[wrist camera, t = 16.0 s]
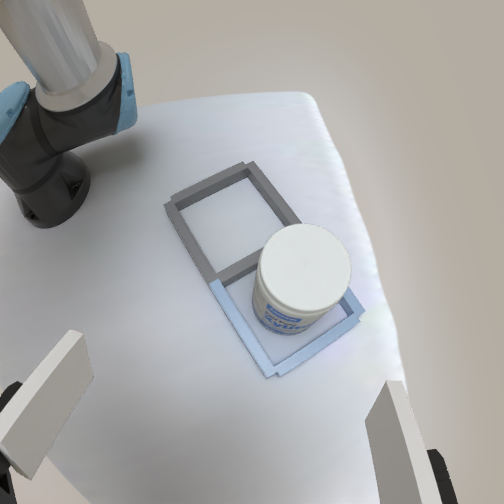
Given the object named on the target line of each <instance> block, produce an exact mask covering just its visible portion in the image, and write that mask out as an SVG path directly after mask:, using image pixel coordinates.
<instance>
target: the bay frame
mask: <svg viewBox="0 0 504 504" xmlns="http://www.w3.org/2000/svg"><path fill="white" fill-rule="evenodd" d="M246 177H248V178H249V179H250V181H251V182H252V183H253V185H254V186H255V187H256V189H257V190H258V191H259V193H260V194H261V195H262V197H263V198H264V199H265V200H266V202H267V203H268V204H269V206H270V207H271V209H272V210H273V211H274V213H275V214H276V215H277V217H278V218H279V219H280V221H281V222H282V223H283V225H284V226H285V227H287V226H289V225H294V224H302V222H301V221H300V220H299V218H298V217H297V216H296V215H295V213H294V212H293V211H292V209H291V208H290V207H289V205H288V204H287V203H286V202H285V200H284V199H283V198H282V196H281V195H280V194H279V193H278V191H277V190H276V189H275V187H274V186H273V185H272V184H271V182H270V181H269V180H268V179H267V177H266V176H265V175H264V174H263V172H262V171H261V170H260V169H259V167H258V166H257V165H256V164H255V162H254V161H252V162H250V163H248V164H245V163H244V162H241V163H239V164H236V165H234V166H232V167H230V168H228V169H226V170H223V171H221V172H219V173H217V174H215V175H213V176H211V177H209V178H207V179H205V180H203V181H201V182H199V183H196V184H194V185H192V186H190V187H188V188H186V189H184V190H182V191H180V192H178V193H177V194H175V195H173V196H171V200H172V201H170V202H168V203H166V204H164V207H165V209H166V212H167V214H168V216H169V218H170V219H171V221H172V223H173V225H174V227H175V228H176V230H177V232H178V234H179V236H180V237H181V239H182V241H183V243H184V244H185V246H186V248H187V250H188V252H189V253H190V255H191V257H192V259H193V260H194V262H195V264H196V265H197V267H198V269H199V271H200V272H201V274H202V276H203V277H204V279H205V281H206V283H207V284H208V286H209V288H210V289H211V291H212V293H213V294H214V296H215V298H216V299H217V301H218V303H219V304H220V306H221V308H222V309H223V311H224V313H225V314H226V316H227V317H228V319H229V321H230V322H231V324H232V326H233V327H234V329H235V330H236V332H237V334H238V335H239V337H240V338H241V340H242V342H243V343H244V345H245V346H246V348H247V350H248V351H249V353H250V354H251V356H252V357H253V359H254V361H255V362H256V364H257V365H258V367H259V368H260V370H261V371H262V373H263V375H264V376H265V378H268V377H270V376H271V375H273V374H275V373H276V374H277V375H278V377H281V376H282V375H284V374H285V373H287V372H289V371H290V370H292V369H293V368H295V367H296V366H298V365H299V364H301V363H302V362H304V361H305V360H307V359H308V358H310V357H311V356H313V355H314V354H316V353H317V352H319V351H320V350H322V349H323V348H324V347H326V346H327V345H329V344H330V343H332V342H333V341H334V340H336V339H337V338H339V337H340V336H341V335H343V334H344V333H346V332H347V331H348V330H350V329H351V328H352V327H354V326H355V325H356V324H358V323H359V322H360V320H359V319H358V316H359V315H361V314H362V313H363V312H365V310H364V308H363V307H362V305H361V304H360V302H359V301H358V299H357V298H356V297H355V295H354V294H353V292H352V291H351V289H350V288H349V287H348V288H347V290H346V292H345V293H344V295H343V296H342V298H341V299H340V300H339V303H340V304H341V306H342V307H343V309H344V310H345V312H346V313H347V315H348V316H349V317H347V318H346V319H344V320H343V321H342V322H340V323H339V324H337V325H336V326H335V327H333V328H332V329H330V330H329V331H327V332H326V333H325V334H323V335H322V336H320V337H319V338H317V339H316V340H314V341H313V342H311V343H310V344H308V345H307V346H305V347H304V348H302V349H301V350H299V351H298V352H296V353H295V354H293V355H292V356H290V357H289V358H287V359H285V360H284V361H282V362H281V363H279V364H277V365H276V366H273V364H272V363H271V361H270V360H269V358H268V356H267V355H266V353H265V352H264V350H263V349H262V347H261V346H260V344H259V343H258V341H257V339H256V338H255V336H254V335H253V333H252V332H251V330H250V328H249V327H248V325H247V324H246V322H245V320H244V319H243V317H242V316H241V314H240V313H239V311H238V309H237V308H236V306H235V305H234V303H233V301H232V300H231V298H230V296H229V295H228V293H227V292H226V290H225V288H224V287H226V286H228V285H229V284H231V283H233V282H235V281H236V280H238V279H240V278H242V277H243V276H245V275H247V274H249V273H250V272H252V271H254V270H256V269H257V266H258V261H259V258H260V255H261V252H262V250H263V248H264V247H263V248H261V249H259V250H258V251H256V252H254V253H252V254H250V255H249V256H247V257H245V258H243V259H242V260H240V261H238V262H236V263H234V264H233V265H231V266H229V267H227V268H225V269H224V270H222V271H220V272H218V273H217V274H215V272H214V270H213V269H212V267H211V265H210V264H209V262H208V260H207V259H206V257H205V255H204V254H203V252H202V250H201V249H200V247H199V245H198V243H197V242H196V240H195V238H194V237H193V235H192V233H191V232H190V230H189V228H188V226H187V225H186V223H185V221H184V220H183V218H182V216H181V214H180V213H179V211H180V210H182V209H184V208H186V207H188V206H190V205H192V204H193V203H195V202H197V201H199V200H201V199H203V198H205V197H207V196H209V195H211V194H213V193H215V192H217V191H219V190H221V189H223V188H225V187H227V186H229V185H232V184H234V183H236V182H238V181H240V180H242V179H244V178H246Z"/></svg>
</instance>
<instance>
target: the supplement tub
mask: <svg viewBox="0 0 504 504" xmlns="http://www.w3.org/2000/svg"><path fill="white" fill-rule="evenodd" d="M350 279H351V261H350V257H349V255H348V252H347V250H346V248H345V247H344V245H343V244H342V242H341V241H340V240H339V239H338V238H337V237H336V236H335V235H334V234H332V233H331V232H329V231H328V230H326V229H324V228H322V227H319V226H316V225H312V224H294V225H289V226H287V227H284V228H282V229H280V230H279V231H277V232H276V233H275V234H273V235H272V236H271V237H270V239H269V240H268V241H267V243H266V244H265V246H264V248H263V250H262V252H261V255H260V258H259V261H258V266H257V272H256V278H255V285H254V291H253V298H252V303H253V309H254V313H255V315H256V317H257V318H258V320H259V321H260V323H261V324H262V325H263V326H264V327H265V328H267V329H268V330H270V331H272V332H274V333H277V334H281V335H293V334H297V333H300V332H302V331H304V330H306V329H307V328H309V327H310V326H311V325H313V324H314V323H315V322H316V321H317V320H318V319H320V318H321V317H322V316H323V315H324V314H325V313H327V312H328V311H329V310H330V309H331V308H332V307H334V306H335V305H336V304H337V303H338V302H339V300H340V299H341V298H342V296H343V295H344V293H345V292H346V290H347V288H348V286H349V283H350Z"/></svg>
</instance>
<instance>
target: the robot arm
mask: <svg viewBox="0 0 504 504" xmlns="http://www.w3.org/2000/svg"><path fill="white" fill-rule="evenodd" d="M0 28H1V30H2V31H3V33H4V34H5V36H6V37H7V39H8V40H9V42H10V43H11V44H12V46H13V47H14V49H15V50H16V52H17V53H18V54H19V56H20V57H21V59H22V60H23V62H24V63H25V64H26V66H27V67H28V69H29V70H30V71H31V73H32V74H33V76H34V77H35V78H36V80H37V84H36V87H35V88H33V89H30V86H29V84H27V83H26V82H23V81H21V82H16V83H14V84H12V85H10V86H9V87H7V88H6V89H4V90H3V91H2V92H1V93H0V178H1V179H2V180H3V181H4V182H5V183H6V184H7V185H8V186H9V187H10V188H11V189H12V190H13V192H14V193H15V196H16V199H17V201H18V204H19V206H20V209H21V211H22V214H23V215H24V217H25V218H26V219H27V220H28V221H29V222H30V223H31V224H33V225H34V226H36V227H39V228H49V227H53V226H56V225H58V224H60V223H62V222H64V221H65V220H67V219H68V218H69V217H71V216H72V215H73V214H74V213H75V212H76V211H77V209H78V208H79V207H80V206H81V204H82V203H83V201H84V199H85V197H86V195H87V193H88V190H89V186H90V174H89V171H88V169H87V167H86V166H85V164H84V163H83V161H82V160H81V159H80V158H79V157H78V156H76V155H75V154H73V153H72V152H70V151H69V150H71V149H74V148H76V147H79V146H81V145H84V144H87V143H89V142H92V141H95V140H98V139H101V138H104V137H107V136H110V135H115V134H117V133H118V132H120V131H122V130H125V129H128V128H130V127H132V126H133V125H134V124H135V123H136V121H137V117H138V116H137V106H136V99H135V93H134V86H133V77H132V71H131V64H130V58H129V55H128V54H127V53H125V52H124V53H115V52H114V50H113V48H112V47H111V46H110V45H108V44H107V43H104V42H102V41H97V38H96V35H95V33H94V31H93V28H92V25H91V22H90V20H89V17H88V14H87V11H86V9H85V6H84V3H83V1H82V0H0ZM93 378H94V376H93V373H92V369H91V365H90V360H89V356H88V352H87V347H86V343H85V338H84V333H80V332H77V331H74V330H71V329H70V330H69V331H68V332H67V333H66V334H65V335H64V337H63V338H62V339H61V340H60V341H59V342H58V343H57V344H56V346H55V347H54V348H53V349H52V350H51V351H50V353H49V354H48V355H47V356H46V357H45V358H44V359H43V361H42V362H41V363H40V364H39V365H38V367H37V368H36V369H35V370H34V371H33V373H32V374H31V375H30V376H29V377H28V379H27V380H26V381H25V382H24V384H22V383H20V382H18V381H17V382H15V383H13V384H12V385H10V386H8V387H7V388H6V390H5V391H4V392H3V393H2V395H1V397H0V504H17V502H16V498H15V493H14V489H13V485H12V479H11V474H10V472H9V467H10V465H11V466H12V467H13V468H14V469H15V471H16V472H18V473H19V474H21V475H22V476H24V477H26V478H28V479H29V480H32V478H33V476H34V475H35V473H36V471H37V469H38V468H39V466H40V464H41V462H42V460H43V459H44V457H45V455H46V454H47V452H48V450H49V449H50V447H51V445H52V443H53V442H54V440H55V438H56V437H57V435H58V433H59V432H60V430H61V429H62V427H63V425H64V424H65V422H66V420H67V419H68V417H69V416H70V414H71V412H72V411H73V409H74V408H75V406H76V404H77V403H78V401H79V400H80V398H81V396H82V395H83V393H84V392H85V390H86V389H87V387H88V386H89V384H90V383H91V381H92V379H93ZM365 424H366V429H367V434H368V439H369V444H370V448H371V454H372V459H373V464H374V469H375V475H376V480H377V486H378V492H379V498H380V504H458V503H457V499H456V495H455V492H454V489H453V486H452V482H451V479H449V477H450V476H449V473H448V471H447V467H446V465H445V461H444V458H443V457H442V456H441V454H440V453H439V452H438V451H437V450H436V449H432V450H426V448H425V445H424V442H423V439H422V436H421V433H420V430H419V427H418V424H417V421H416V419H415V416H414V413H413V410H412V407H411V405H410V402H409V399H408V397H407V394H406V391H405V389H404V386H403V384H402V381H386V382H385V384H384V386H383V388H382V390H381V392H380V394H379V396H378V397H377V399H376V401H375V403H374V405H373V407H372V409H371V410H370V412H369V414H368V416H367V418H366V419H365Z"/></svg>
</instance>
